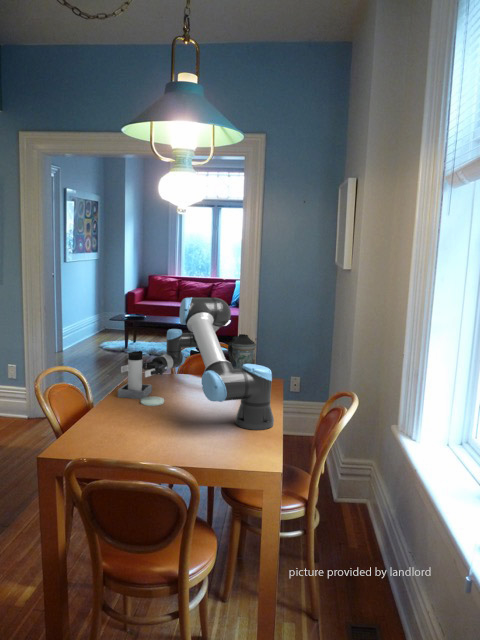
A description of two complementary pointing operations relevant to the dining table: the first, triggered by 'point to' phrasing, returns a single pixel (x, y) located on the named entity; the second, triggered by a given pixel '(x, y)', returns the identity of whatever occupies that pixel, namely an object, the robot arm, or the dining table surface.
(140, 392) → the square frame
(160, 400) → the disc
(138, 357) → the travel mug
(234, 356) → the beer stein
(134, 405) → the dining table surface
